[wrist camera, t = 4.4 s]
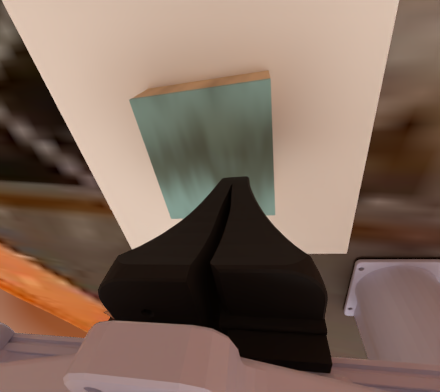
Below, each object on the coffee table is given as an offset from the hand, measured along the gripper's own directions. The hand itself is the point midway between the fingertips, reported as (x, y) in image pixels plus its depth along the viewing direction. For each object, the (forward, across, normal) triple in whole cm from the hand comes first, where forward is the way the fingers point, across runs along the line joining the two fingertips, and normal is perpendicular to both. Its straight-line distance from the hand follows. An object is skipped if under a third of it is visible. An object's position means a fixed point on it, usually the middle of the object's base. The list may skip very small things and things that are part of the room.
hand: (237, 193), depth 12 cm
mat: (+7, +2, 0) cm, 7 cm away
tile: (+5, -2, 0) cm, 5 cm away
